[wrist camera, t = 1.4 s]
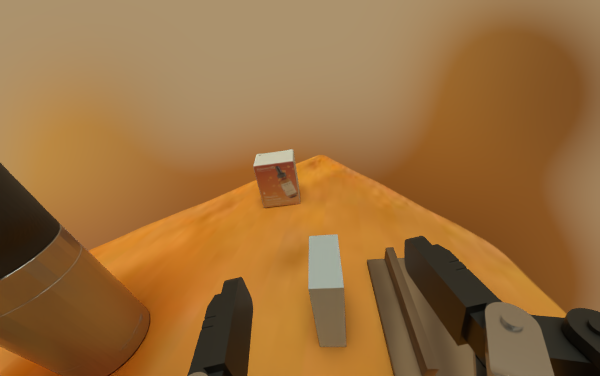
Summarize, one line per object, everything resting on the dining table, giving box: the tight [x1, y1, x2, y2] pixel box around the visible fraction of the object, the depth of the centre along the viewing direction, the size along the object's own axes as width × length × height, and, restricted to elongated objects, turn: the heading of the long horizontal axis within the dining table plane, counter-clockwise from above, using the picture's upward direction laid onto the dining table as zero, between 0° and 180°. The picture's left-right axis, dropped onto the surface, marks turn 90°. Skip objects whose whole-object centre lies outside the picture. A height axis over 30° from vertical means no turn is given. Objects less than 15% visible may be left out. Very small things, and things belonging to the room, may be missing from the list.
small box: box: [253, 149, 300, 208], centre depth 48 cm, size 8×6×10 cm
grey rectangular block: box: [308, 235, 346, 347], centre depth 25 cm, size 3×6×12 cm, turn 178°
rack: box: [367, 247, 474, 376], centre depth 27 cm, size 12×14×3 cm
